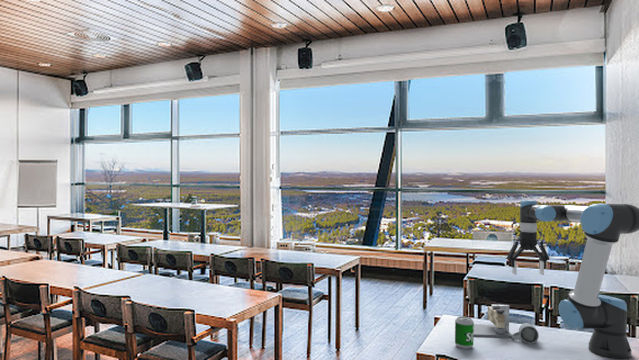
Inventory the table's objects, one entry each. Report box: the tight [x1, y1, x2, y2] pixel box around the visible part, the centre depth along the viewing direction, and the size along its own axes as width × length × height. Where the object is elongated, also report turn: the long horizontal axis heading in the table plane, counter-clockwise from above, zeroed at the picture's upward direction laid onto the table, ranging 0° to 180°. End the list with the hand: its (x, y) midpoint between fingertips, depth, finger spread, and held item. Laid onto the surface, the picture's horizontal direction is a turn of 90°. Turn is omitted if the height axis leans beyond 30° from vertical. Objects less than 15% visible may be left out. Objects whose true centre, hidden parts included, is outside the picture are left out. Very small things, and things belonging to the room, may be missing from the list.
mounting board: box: [474, 323, 513, 339], centre depth 211 cm, size 15×18×4 cm
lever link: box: [487, 305, 505, 328], centre depth 211 cm, size 14×4×8 cm, turn 179°
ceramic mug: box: [511, 322, 539, 345], centre depth 200 cm, size 11×8×8 cm
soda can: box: [454, 316, 475, 350], centre depth 191 cm, size 8×8×12 cm
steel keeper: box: [490, 304, 510, 332], centre depth 209 cm, size 2×8×13 cm, turn 88°
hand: (528, 274), depth 221 cm, fingers open, 13 cm apart
